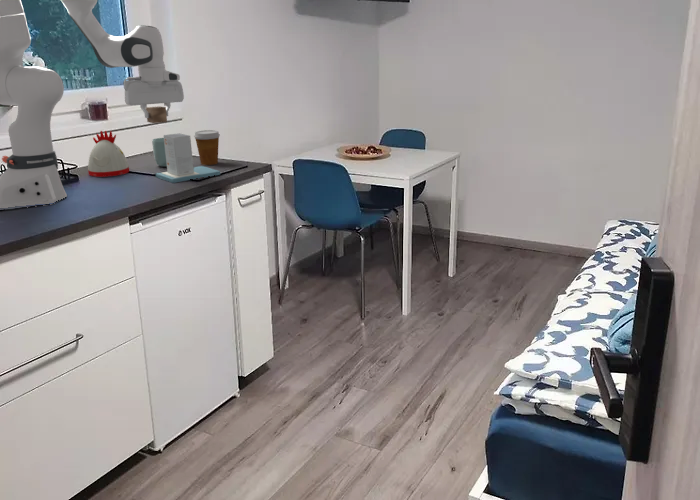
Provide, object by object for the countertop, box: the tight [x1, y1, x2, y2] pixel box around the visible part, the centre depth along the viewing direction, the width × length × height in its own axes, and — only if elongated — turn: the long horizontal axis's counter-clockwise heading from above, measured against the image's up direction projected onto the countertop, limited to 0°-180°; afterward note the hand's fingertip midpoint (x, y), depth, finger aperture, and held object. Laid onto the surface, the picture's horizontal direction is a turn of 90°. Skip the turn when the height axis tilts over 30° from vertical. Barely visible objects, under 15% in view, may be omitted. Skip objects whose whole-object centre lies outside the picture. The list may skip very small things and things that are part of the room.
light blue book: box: [155, 165, 221, 184], centre depth 222 cm, size 18×13×1 cm
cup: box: [151, 137, 167, 168], centre depth 237 cm, size 8×8×10 cm
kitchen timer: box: [87, 130, 130, 178], centre depth 227 cm, size 14×14×15 cm
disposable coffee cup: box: [193, 129, 221, 166], centre depth 240 cm, size 10×10×12 cm
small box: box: [163, 133, 195, 176], centre depth 218 cm, size 8×6×13 cm
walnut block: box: [146, 105, 168, 124], centre depth 221 cm, size 5×5×5 cm
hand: (156, 117), depth 221 cm, fingers closed on walnut block, 5 cm apart
